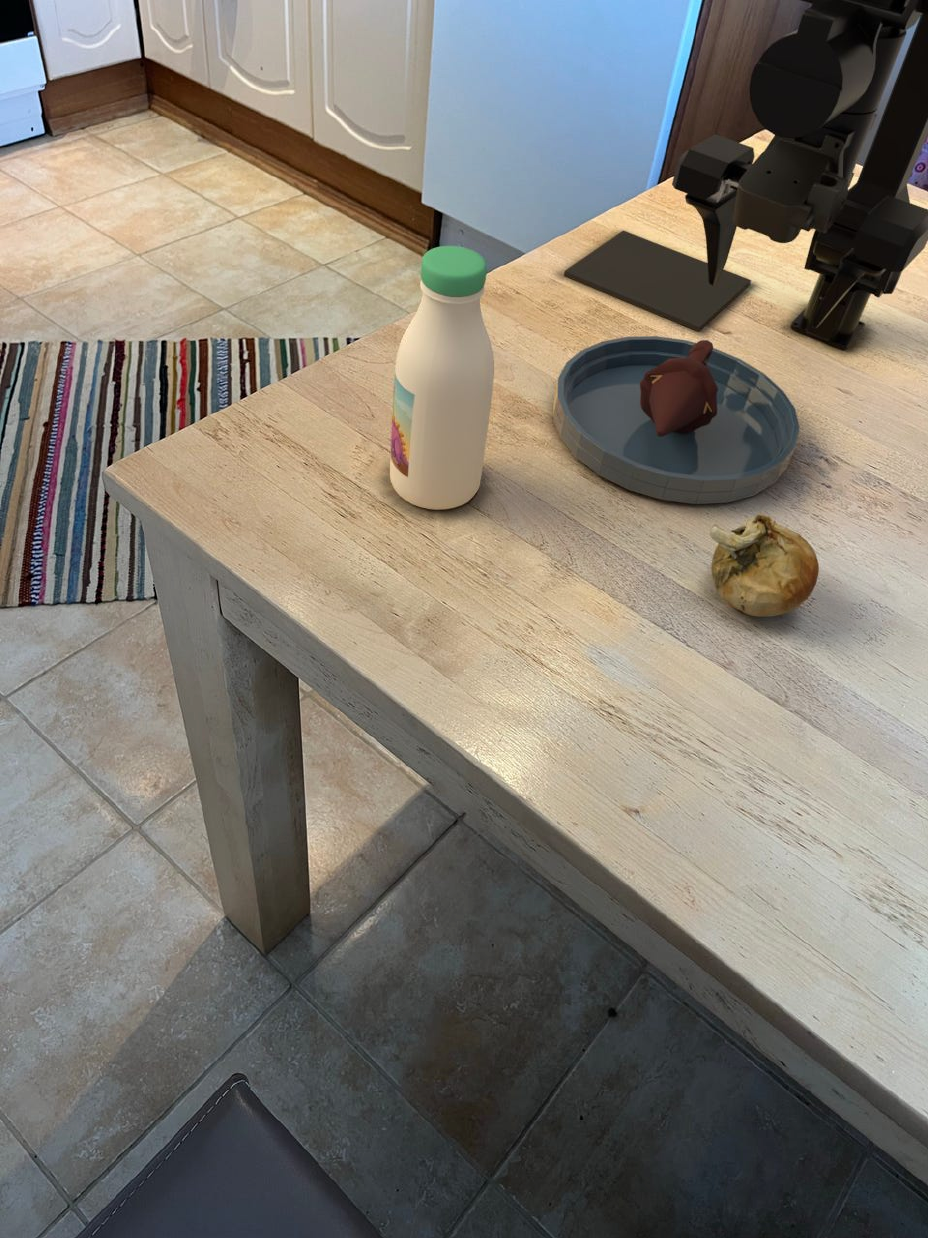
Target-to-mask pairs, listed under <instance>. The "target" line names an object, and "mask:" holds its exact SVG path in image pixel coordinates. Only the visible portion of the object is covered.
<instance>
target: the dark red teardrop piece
mask: <svg viewBox="0 0 928 1238" xmlns="http://www.w3.org/2000/svg"><path fill="white" fill-rule="evenodd" d="M695 343H696V344H695V345H693V347H692V348H691V349H690V352H689V357H684V358H669V359H668V360H667V361H665V362H664V363H663V364H661V365H659V366H657V367H655V368H654V369H651V370H649V371H648V372H646V373H645V376H644V379H643V380H642V381H641V382H640V389H641V397H640V405H641V409H642V410H643V411H644V413H645V414H646V415H647V416H648V417H649V418H650V419H651V420H652V421H653V422H654V423H655V428H656V432H657V435H658V436H659V437H662V436H665V435H667V434H669V433H671V432H673V431H674V432H677V433H681V434H687V433H690V432H692V431H694V430H696V429H698V428H700V427H702V426H705V425H708V424H709V423H710V422H711V419H712V418H713V417H715V416H716V415H717V392H718V387H717V384H716V383H715V381H714V378H713V376H712V374H711V371H710V369H709V368H708V367H707V364H706V362H707V360H708V359H709V357H710V355H711V354H712V350H713V348H714V345H713V342H712V341H710V340H709V339H702V340H698V341H697V342H695Z"/></svg>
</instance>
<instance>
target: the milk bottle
mask: <svg viewBox="0 0 928 1238" xmlns="http://www.w3.org/2000/svg"><path fill="white" fill-rule="evenodd" d="M487 271H488V266H487V261H486V260H485V258H484V257H483V256H482V255H481V254H480V253H478V252H477V251H475V250H472V249H470V248H467V247H463V246H459V245H441V246H437V247H434V248H431V249H429V250H428V251H426V252H425V253H424V254H423V257H422V259H421V264H420V282H419V287H420V289H421V291H422V296H421V300H420V303H419V305H418V308H417V310H416V313H415V314H414V316H413V318H412V320H411V322H410V323H409V325H408V327H407V328H406V330H405V332H404V334H403V336H402V338H401V341H400V343H399V346H398V350H397V353H396V360H395V367H394V379H393V396H392V411H391V413H392V414H391V433H390V435H391V436H390V456H389V457H390V458H389V480H390V483H391V485H392V487H393V489H394V491H395V492H396V493H397V495H398V496H399V497H401V498H402V499H403V500H404V501H406V502H407V503H410V504H411V505H413V506H417V507H419V508H423V509H427V510H436V511H437V510H450V509H454V508H455V509H456V508H457V507H460V506H463V505H465V504H467V503H468V502H469V501H470V500H471V499H472V498H474V496H475V494H476V493H477V492H478V491H479V488H480V486H481V481H482V475H483V467H484V460H485V455H486V454H485V453H486V447H487V438H488V431H489V423H490V415H491V407H492V399H493V390H494V379H495V357H494V350H493V346H492V342H491V338H490V335H489V332H488V330H487V328H486V327H487V326H486V325H485V321H484V318H483V314H482V313H483V312H482V308H481V298H482V297H483V295H484V294H485V284H486V280H487V274H488V272H487Z"/></svg>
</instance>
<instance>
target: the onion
mask: <svg viewBox="0 0 928 1238" xmlns="http://www.w3.org/2000/svg"><path fill="white" fill-rule="evenodd" d="M745 522H746V525H741V526H739V527H737V528H735V529H731V530H727V529H725V528H722V527H720V526H719V525H718V524H716V523H714V524H713V525H712V527H711V530H710V533H709V536H710V538H711V540H712V541H715V543H717V546H716V547H715V550H714V553H713V555H712V558H711V577H712V580H713V583H714V586H715V589H716V591H717V593H718V594H719V596H720V598H722V600H723V601H724V602H725V603H727V604H728V606H730V607H732V608H734V609H736V610H738V611H741V612H742V613H744V614H746V615H748V616H751V617H775V616H781V615H785V614H787V613H790V612H792V611H794V610H796V609H797V608H798V607H800V606H801V605H802V604H803V603H804V602H805V601H807V600H808V598H809V597H810V596H811V595H812V593H813V591H814V590H815V588H816V584H817V581H818V577H819V571H820V566H819V565H820V564H819V560H818V557H817V554H816V552H815V550H814V548H813V547H812V545H811V544H810V543H809V541H808V540H807V539H805V538H804V537H803V536H802V535H801V534H800V533H798V532H796V531H794V530H792V529H789V528H787V527H786V526H785V527H784V526H782V525H780V524H779V523H777V522H776V520H775V519H773V518H772V517H771V516H770V515H765V514H761V513H759V514H756V515H755V516H754V518H753V520H751V519H748V518H746V519H745Z"/></svg>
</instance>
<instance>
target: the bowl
mask: <svg viewBox="0 0 928 1238" xmlns="http://www.w3.org/2000/svg"><path fill="white" fill-rule="evenodd" d="M696 343H697V342H694V341H690V340H686V339H680V338H672V337H665V336H658V335H652V336H651V335H648V336H647V335H645V336H643V335H642V336H638V335H637V336H635V335H634V336H623V337H620V338H613V339H606V340H603V341H600V342H598V343H595V344H593V345H590V346H588V347H586V348H583V349H581V350H579V352H578V353H576V354H575V355H574V356H572V357H571V358H570V359H569V360H567V361H566V363H565V364H564V366H563V368H562V370H561V372H560V373H559V375H558V376H557V381H556V387H555V391H554V397H553V405H552V406H553V407H552V420H553V423H554V426H555V428H556V431H557V433H558V436H559V438H560V440H561V442H563V443H564V445H565V446H566V448H568V450H569V451H570V452H571V453H572V455H573V456H574V457H575V458H576V459H577V460H579V462H581V463H582V464H584V465H585V466H586V467H588V468H589V469H590V470H591V471H593V472H594V473H595V474H596V475H598V476H600V477H602V478H603V479H605V480H608V481H610V482H611V483H614V484H616V485H618V486H620V487H622V488H624V489H626V490H628V491H631V492H634V493H638V494H641V495H644V496H648V497H651V498H654V499H658V500H662V501H668V502H677V503H684V504H692V505H704V504H705V505H706V504H726V503H731V502H734V501H739V500H742V499H746V498H750V497H753V496H756V495H757V494H759V493H760V492H762V491H765V489H767V488H769V487H771V486H772V485H775V483H776V482H777V481H778V480H779V478H781V476H782V474H783V473H784V472H785V471H786V469H787V468H788V465H789V464H790V461H791V459H792V456H793V454H794V452H795V450H796V447H797V443H798V439H799V434H800V430H801V427H800V423H799V419H798V415H797V411H796V408H795V407H794V405H793V404H792V402H791V400H790V399H789V397H788V396H787V395H786V393H785V391H784V390H783V389H782V388H780V386H779V385H777V384H776V383H775V382H774V381H773V380H772V379H771V378H769V376H767V375H766V374H765V373H764V372H762V371H761V370H759V369H757V368H756V367H755V366H753V365H751V364H749V363H747V362H746V361H744V360H743V359H741V358H739V357H738V356H737V357H736V356H734V355H732V354H731V353H727V352H725V351H722V350H720V349H718V348H715V347H713V350H712V354H711V355H710V357H709V359H708V360H707V362H706V364H707V367H708V368H709V369H710V371H711V374H712V376H713V378H714V381H715V383H716V384H717V387H718V392H717V415H716V416H715V417H713V418H712V419H711V422H710V423H709V424H708V425H705V426H702V427H700V428H698V429H696V430H694V431H692V432H690V433H687V434H681V433H677V432H674V431H673V432H671V433H669V434H667V435H665V436H662V437H659V436H658V435H657V432H656V428H655V423H654V422H653V421H652V420H651V419H650V418H649V417H648V416H647V415H646V414H645V413H644V411H643V410H642V409H641V405H640V397H641V389H640V382H641V381H642V380H643V379H644V376H645V373H646V372H648V371H649V370H651V369H654V368H655V367H657V366H659V365H661V364H663V363H664V362H665V361H667V360H668V359H669V358H684V357H689V352H690V349H691V348H692V347H693V345H695V344H696Z"/></svg>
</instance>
